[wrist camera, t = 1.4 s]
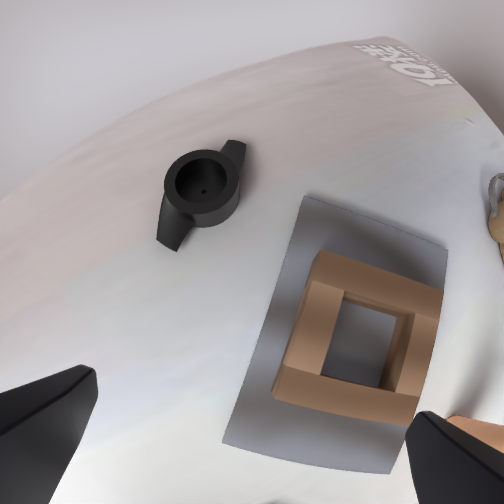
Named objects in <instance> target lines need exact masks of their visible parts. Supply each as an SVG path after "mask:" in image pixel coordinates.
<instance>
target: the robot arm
mask: <svg viewBox="0 0 504 504" xmlns="http://www.w3.org/2000/svg"><path fill="white" fill-rule="evenodd" d="M97 398H98V386H97V377H96V371H95V370H94V369H93V368H91V367H88V366H85V365H77V366H75V367H72V368H69V369H67V370H64V371H61V372H59V373H56V374H53V375H51V376H48V377H45V378H42V379H40V380H37V381H34V382H31V383H28V384H25V385H23V386H20V387H17V388H14V389H11V390H8V391H5V392H2V393H0V504H49V502H50V500H51V498H52V496H53V494H54V492H55V490H56V488H57V486H58V484H59V482H60V480H61V478H62V476H63V474H64V472H65V470H66V468H67V466H68V464H69V462H70V461H71V459H72V457H73V455H74V453H75V451H76V449H77V447H78V445H79V443H80V441H81V439H82V436H83V434H84V431H85V429H86V426H87V423H88V421H89V418H90V416H91V413H92V411H93V408H94V406H95V404H96V401H97ZM405 441H406V446H407V451H408V457H409V462H410V468H411V474H412V479H413V483H414V486H415V490H416V494H417V498H418V501H419V504H504V453H502V452H500V451H499V450H497V449H495V448H493V447H491V446H490V445H488V444H486V443H484V442H483V441H481V440H479V439H477V438H476V437H474V436H472V435H470V434H469V433H467V432H465V431H463V430H462V429H460V428H458V427H457V426H455V425H453V424H452V423H450V422H448V421H446V420H445V419H443V418H441V417H440V416H438V415H436V414H435V413H433V412H431V411H422V412H419V413H418V414H417V415H416V416H415V418H414V419H413V421H412V423H411V424H410V426H409V427H408V429H407V431H406V433H405Z"/></svg>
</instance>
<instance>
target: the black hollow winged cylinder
mask: <svg viewBox="0 0 504 504" xmlns="http://www.w3.org/2000/svg"><path fill="white" fill-rule="evenodd" d="M245 150H246V144H244V143H242V142H239V141H235V140H228V141H227V142H226V144H225V145H224V147H223V148H222V149H221V151H220V152H217V151H214V150H196V151H192V152H189V153H187V154H185V155H183V156H181V157H180V158H178V159H177V160H176V161H175V162H174V163H173V164H172V165H171V167H170V168H169V170H168V171H167V174H166V176H165V180H164V190H165V192H164V195H163V199H162V203H161V208H160V214H159V221H158V229H157V238H156V240H158V241H159V242H160V243H161V244H163V245H164V246H166V247H167V248H169V249H171V250H173V251H175V252H177V250H178V248H179V246H180V244H181V242H182V241H183V239H184V237H185V235H186V234H187V232H188V231H189V230H190V228H191V227H192V226H194V227H201V228H204V227H212V226H215V225H218V224H220V223H222V222H224V221H225V220H226V219H228V218H229V217H230V216H231V215H232V214H233V212H234V211H235V209H236V207H237V205H238V202H239V196H240V193H239V177H238V173H239V171H240V170H241V168H242V165H243V161H244V157H245ZM204 193H206V194H205V195H203V194H204Z"/></svg>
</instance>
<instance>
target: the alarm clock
mask: <svg viewBox="0 0 504 504" xmlns="http://www.w3.org/2000/svg"><path fill="white" fill-rule="evenodd" d="M497 178H500V179H503V180H504V173H499V174H497V175H496V176H494V177H493V178H492V179H491V180H490V183H489V188H488V192H489V199H490V203H491V208H492V211H491V213H490V216H489V222H488V225H489V231H490V234H491V236H492V237H493V238H494V239H495V241H497V242H499V243H500V250H501V254H502V258H503V262H504V188H503V191H502V201H501V202H499V203H498V202H497V198H496V193H495V184H496V180H497Z"/></svg>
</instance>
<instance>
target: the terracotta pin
mask: <svg viewBox="0 0 504 504" xmlns="http://www.w3.org/2000/svg"><path fill="white" fill-rule="evenodd" d="M446 421H448V422H450V423H452V424H453V425H455V426H457V427H458V428H460V429H462V430H463V431H465V432H467V433H469V434H470V435H472V436H474V437H476V438H477V439H479V440H481V441H483V442H484V443H486V444H488V445H490V446H491V447H493V448H495V449H497V450H499V451H500V452H502V453H504V426H502V425H497V424H492V423H488V422H483V421H479V420H475V419H471V418H466V417H462V416H458V415H454V416H451V417H450V418H448V419H447V420H446Z"/></svg>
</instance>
